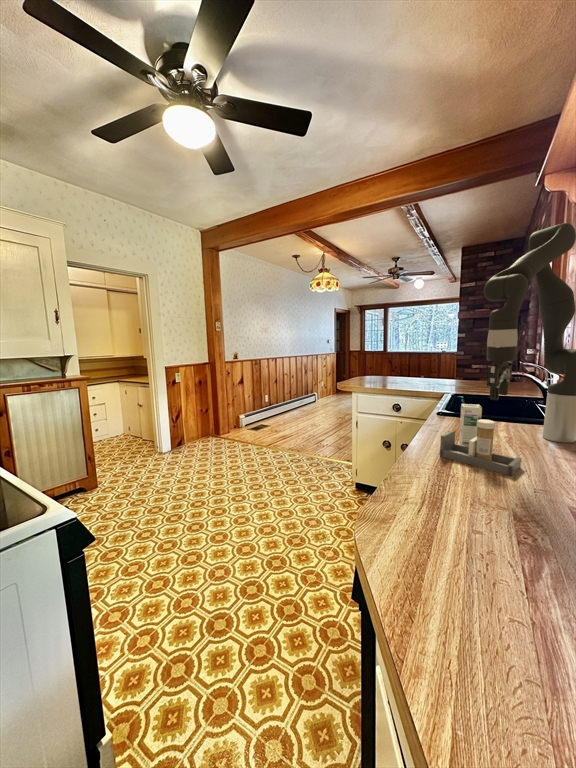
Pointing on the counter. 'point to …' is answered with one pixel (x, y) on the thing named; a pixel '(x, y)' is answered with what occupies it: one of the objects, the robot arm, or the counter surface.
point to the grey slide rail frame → (461, 454)
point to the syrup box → (469, 422)
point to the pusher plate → (472, 447)
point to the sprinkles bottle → (485, 439)
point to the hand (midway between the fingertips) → (498, 397)
